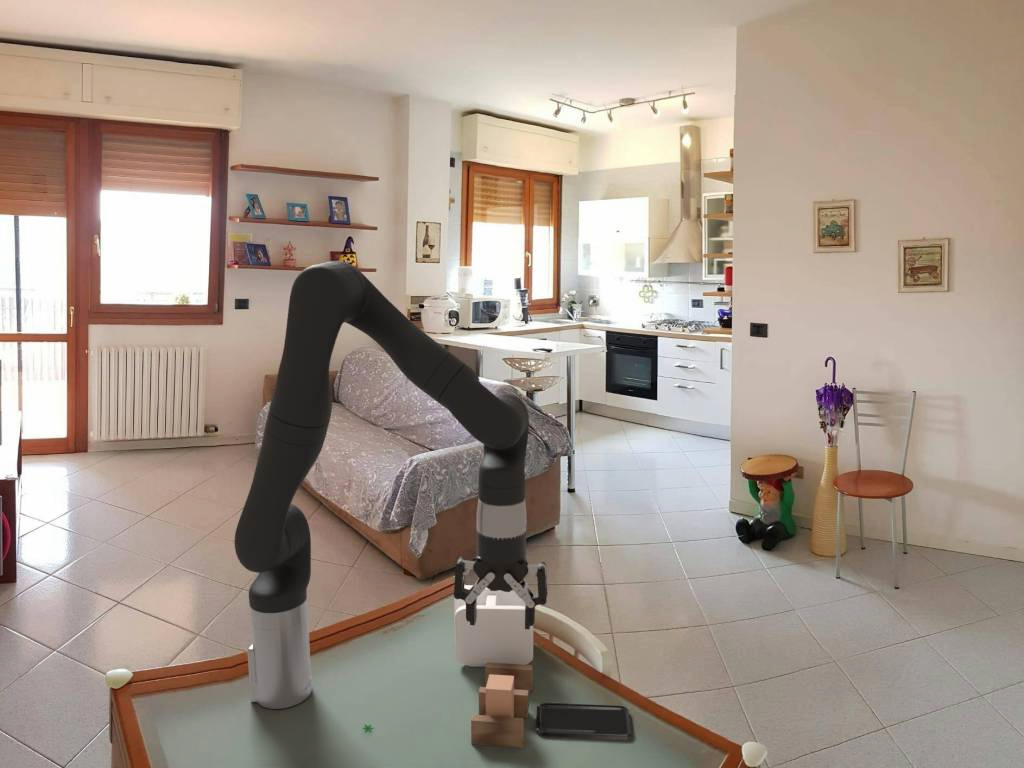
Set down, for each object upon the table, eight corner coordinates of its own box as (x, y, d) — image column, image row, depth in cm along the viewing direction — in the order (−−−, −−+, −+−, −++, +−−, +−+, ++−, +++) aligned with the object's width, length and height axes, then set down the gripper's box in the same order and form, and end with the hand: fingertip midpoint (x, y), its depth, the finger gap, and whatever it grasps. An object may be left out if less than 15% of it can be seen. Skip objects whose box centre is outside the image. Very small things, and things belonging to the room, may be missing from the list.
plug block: (485, 734, 122) (485, 688, 120) (489, 719, 126) (489, 674, 124) (511, 736, 122) (511, 690, 120) (513, 720, 125) (514, 675, 124)
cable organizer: (450, 668, 141) (449, 609, 138) (455, 638, 151) (455, 582, 149) (532, 669, 140) (533, 610, 138) (532, 639, 151) (533, 583, 148)
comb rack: (471, 743, 120) (471, 720, 119) (486, 683, 136) (486, 662, 135) (522, 747, 119) (522, 724, 118) (532, 686, 135) (532, 665, 134)
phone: (537, 702, 129) (627, 705, 128) (537, 708, 129) (627, 712, 128) (535, 732, 121) (632, 736, 120) (535, 738, 122) (631, 742, 121)
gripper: (450, 533, 114) (450, 634, 118) (546, 538, 113) (544, 640, 116) (459, 515, 122) (459, 610, 125) (550, 519, 120) (547, 616, 123)
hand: (500, 625), depth 120 cm, fingers open, 8 cm apart
